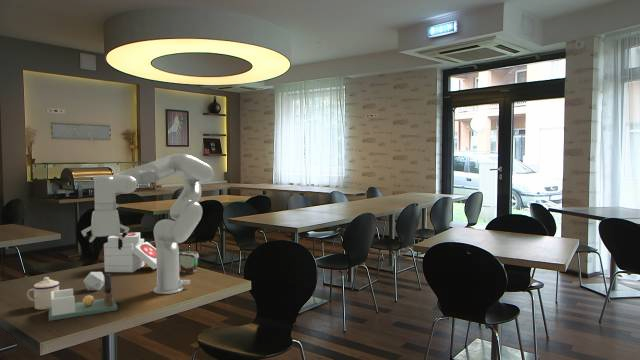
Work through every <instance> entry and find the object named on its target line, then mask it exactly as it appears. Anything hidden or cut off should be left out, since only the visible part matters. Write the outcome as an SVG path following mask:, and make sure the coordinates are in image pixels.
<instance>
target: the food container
mask: <svg viewBox="0 0 640 360" xmlns="http://www.w3.org/2000/svg"><path fill="white" fill-rule="evenodd" d="M199 258H200V256H199V253H198V251H193V250H188V251H186V250H185V251H179V271H180V272H181V271H185V272H184V273H186V272H190V273H189V274H191V273H195V272H196V273H197V272H198V259H199ZM196 273H195V274H196Z"/></svg>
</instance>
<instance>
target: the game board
mask: <svg viewBox="0 0 640 360" xmlns="http://www.w3.org/2000/svg"><path fill="white" fill-rule="evenodd" d="M75 297H76V296H75V295H74V288H67V289H66V288H65V289H59V290H58V291H51V306H50V307H49V309H48V322H51V321H56V320H64V319H69V318H70V319H71V318H75V317H82V316H89V315H94V314H95V315H96V314H100V313H101V314H102V313H108V312H114V311H118V305H117V303H116V300H115V299H114V297H112V304H113V305H109V306H107V305H106V302H105V300H104V298H100V299H94V303H93V304H92V305H90V306H86V305H84V304H83V301H79V302H78V301H77V302H76V301H75V299H76V298H75Z"/></svg>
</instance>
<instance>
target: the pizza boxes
mask: <svg viewBox="0 0 640 360" xmlns="http://www.w3.org/2000/svg"><path fill="white" fill-rule="evenodd" d="M123 233H124V232H120V235H122V234H123ZM118 239H119V237H118V236H117V235H115V236H107V242H105V243H103V254H104V255H103V259H104V260H103V262H104V273H134V272H136V271H138V270H139V269H141V268H143V267H145V266H146V265H147V266H149V267H150V268H151V269H152V270H155V269H157V263H156V247H154V246H153V244H151V243H150V242H148V241H145V238H141V232H140V231H139V232H137V231H136V232H128V233H127V235H126V236H125V237H124V238H123V239H122V245H123V247H121V250H119V249H118ZM145 264H146V265H145ZM144 265H145V266H144ZM137 269H138V270H137Z"/></svg>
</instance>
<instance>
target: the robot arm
mask: <svg viewBox="0 0 640 360" xmlns="http://www.w3.org/2000/svg"><path fill="white" fill-rule="evenodd" d="M179 173H180V174H182V178H183V183H184V184H183V185H184V187H183V190H182V191H181V193H180V194H179V196H178V197H177V199H176V200H175V202H174V203H173V204H172V205H171V207H170V209H169V215H170V217H171V218H172V219H167V218H166V219H164V218H163V219H161V220H159V221H157V222H156V223H155V225H154V227H153V237H154V241H155V248H156V263H157V268H156V287H154V288H153V289H152V290H153V293H154V294H158V295H171V294H175V293H180V292H181V291H183V290H184V286H185V285H190V284H191V279H186V278H185V279H181V278H180V259H179V252H180V249H179V248H180V247H179V245H178V244H182V243H184V242H185V241H187V240H188V238H189V237H190V236H191V235H192V233H193V232H194V230H195V229H196V227H197V226H198V224H199V223H200V221H201V219H202V216H203V206H202V205H201V204H200V203H199V201H200V199H201V197H202V187H201V186H202V185H201V184H206V183H209V182H211V181H212V180H213V178H214V175H215V173H214V169H213V167H212V166H211V165H210V164H208V163H206V162H204V161H202V160H200V159H198V158H197V157H195V156H192V155H191V154H190V155H189V154H188V153H173V154H169V155H167V156H164V157H161V158H158V159H157V160H153V161H151V162H147V163H145V164H141V165H138V166H135V167H131V168H127V169H125V170H121V171H120V172H117V173H114V174H112V175H100V176H96V177H94V179H93V180H94V181H93V183H94V184H93V187H94V191H93V192H94V210H93V211H92V213H91V222H90V223H91V225H90V226H88V227H86V228H84V229H83V230H81V231H80V232H81V234H82V236H83V237H84V239H86V241H88V242H89V251H91V252H92V253H94V252H95V242H94V240H95V239H96V238H101V237H102V238H103V237H109V236H115V235H117V236H118V237H119V239H118V249H119V250H121V247H123V245H122V239H123V238H124V237H125V236H126V235H127V233H129V231H130V227H129V226H126V225H123V224H121V223H120V216H119V211H118V209H117V208H120V203H118V202H116V201H117V199H116V194H123V195H125V194H126V195H127V194H128V195H129V194H131V193H133V192H135V191H136V190H137V188H138V185H142V184H151V183H155V182H159V181H161V180H164V179H166V178H168V177H171V176H173V175H175V174H179ZM121 229H122V230H124V232H122V233H123V234H122V235H120V233H121ZM88 232H91V236H89V235H88V234H87V233H88Z"/></svg>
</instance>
